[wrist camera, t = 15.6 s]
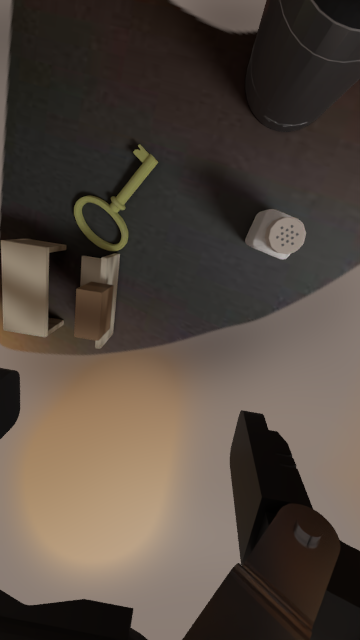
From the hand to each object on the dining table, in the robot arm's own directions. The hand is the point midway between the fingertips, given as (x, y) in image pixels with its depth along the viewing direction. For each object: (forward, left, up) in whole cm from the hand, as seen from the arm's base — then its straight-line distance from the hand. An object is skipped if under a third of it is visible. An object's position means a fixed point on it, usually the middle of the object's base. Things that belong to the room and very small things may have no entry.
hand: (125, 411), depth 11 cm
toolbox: (+3, -17, -28) cm, 33 cm away
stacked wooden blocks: (+3, -10, -28) cm, 29 cm away
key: (-8, -9, -29) cm, 31 cm away
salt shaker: (-7, +9, -28) cm, 31 cm away
